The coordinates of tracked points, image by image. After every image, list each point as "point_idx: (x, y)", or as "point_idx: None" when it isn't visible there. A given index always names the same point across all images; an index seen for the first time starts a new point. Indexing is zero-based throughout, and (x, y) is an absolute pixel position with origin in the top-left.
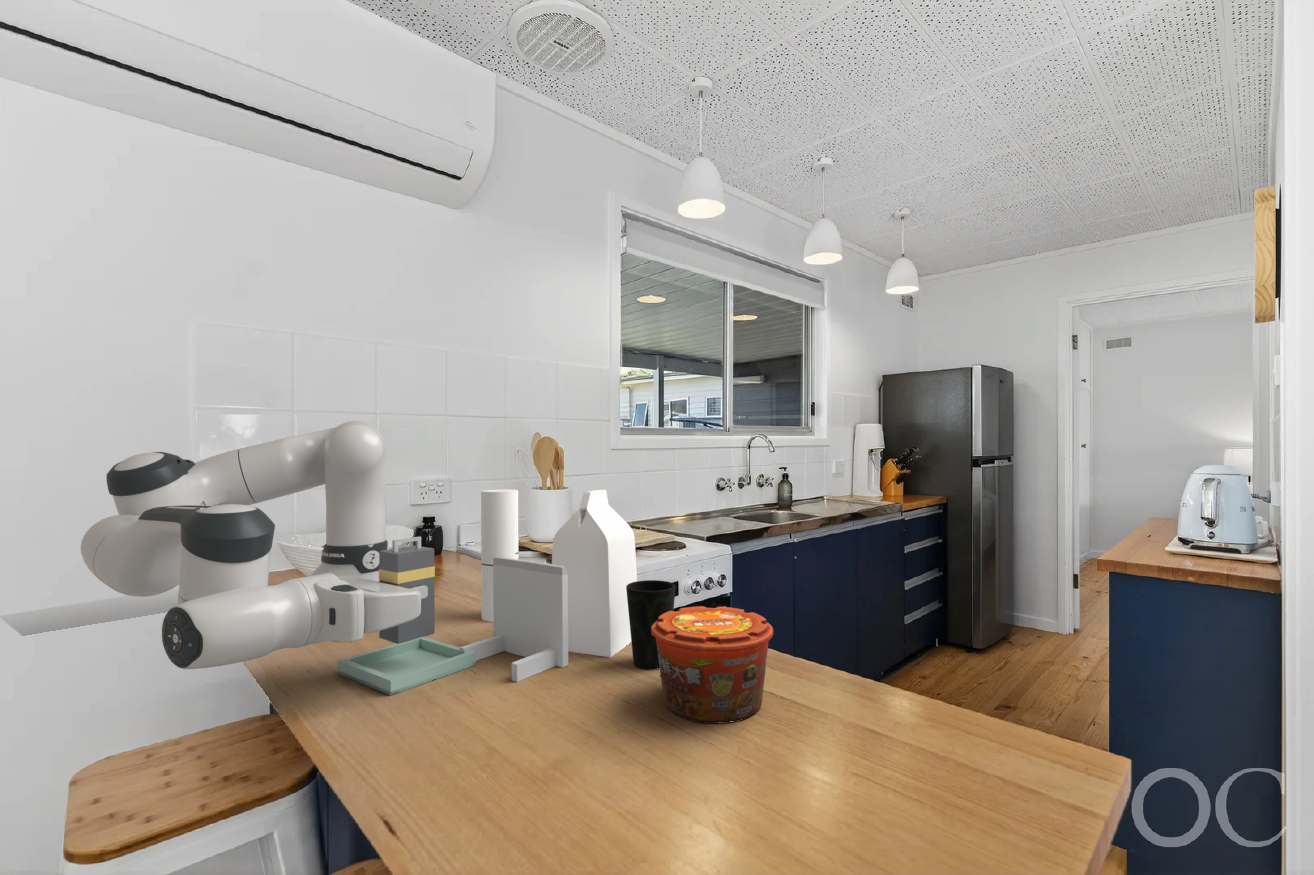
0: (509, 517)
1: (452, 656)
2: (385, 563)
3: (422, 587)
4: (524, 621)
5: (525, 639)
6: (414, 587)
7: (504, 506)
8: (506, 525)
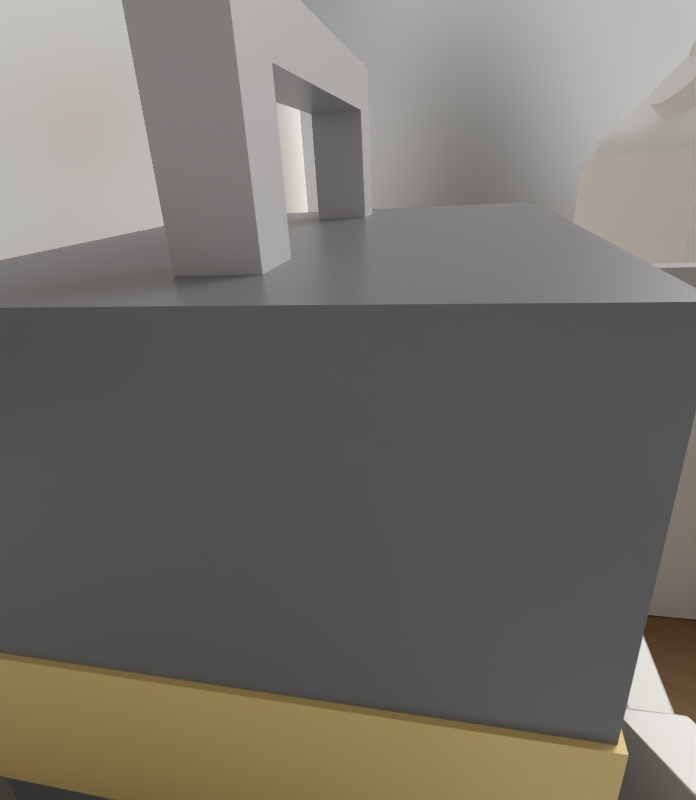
0: (296, 150)
1: None
2: (95, 564)
3: (643, 652)
4: (678, 509)
5: (668, 565)
6: (645, 723)
7: (282, 105)
8: (294, 179)
